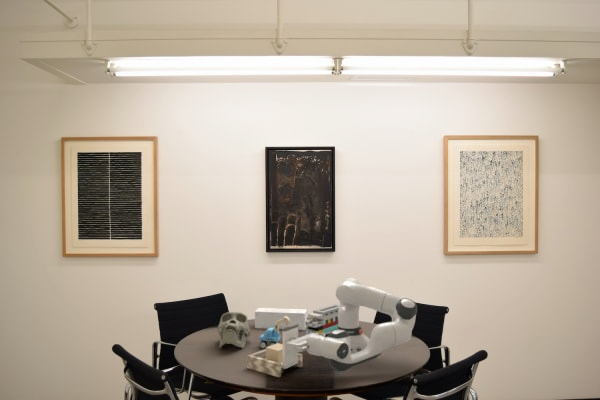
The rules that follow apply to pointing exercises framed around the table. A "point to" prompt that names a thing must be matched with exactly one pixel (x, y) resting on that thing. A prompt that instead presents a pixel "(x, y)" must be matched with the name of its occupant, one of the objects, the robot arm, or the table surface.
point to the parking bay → (267, 363)
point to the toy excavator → (273, 334)
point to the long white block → (280, 317)
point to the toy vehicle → (323, 320)
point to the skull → (234, 329)
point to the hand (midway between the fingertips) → (291, 339)
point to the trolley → (284, 349)
